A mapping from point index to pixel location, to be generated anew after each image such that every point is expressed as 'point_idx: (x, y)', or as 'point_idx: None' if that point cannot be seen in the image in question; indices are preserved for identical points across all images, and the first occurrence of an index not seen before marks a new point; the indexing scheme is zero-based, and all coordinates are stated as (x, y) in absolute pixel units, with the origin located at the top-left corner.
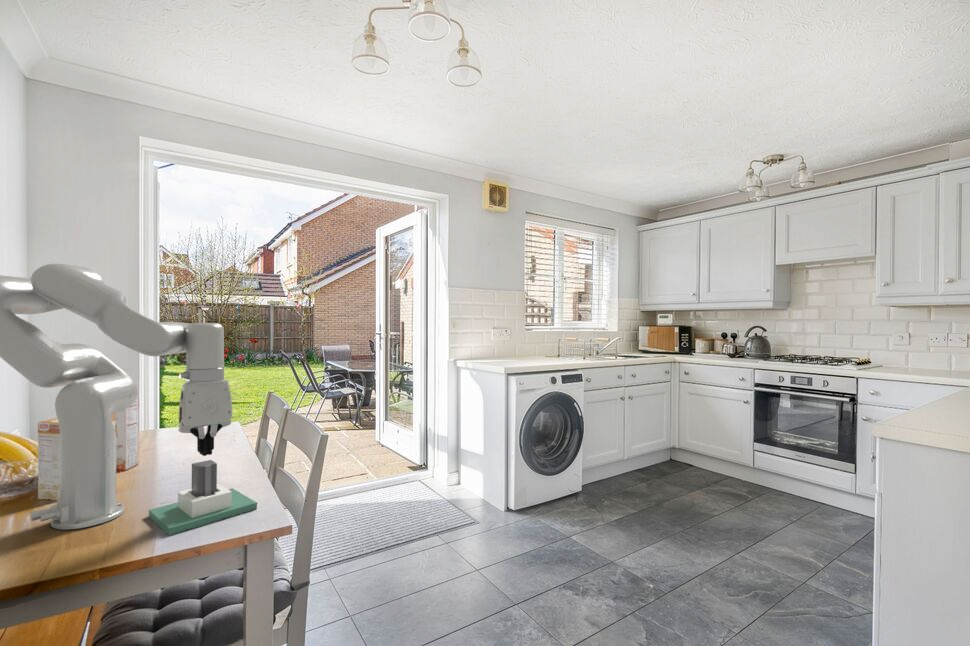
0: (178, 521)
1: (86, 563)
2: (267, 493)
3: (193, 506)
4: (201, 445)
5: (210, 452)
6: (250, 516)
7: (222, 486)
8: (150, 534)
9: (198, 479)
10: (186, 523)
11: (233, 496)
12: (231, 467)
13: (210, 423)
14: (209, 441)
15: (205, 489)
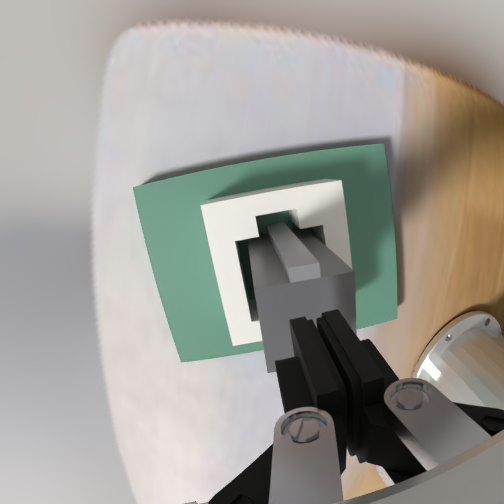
0: (359, 177)
1: (488, 127)
2: (96, 296)
3: (332, 180)
4: (374, 361)
5: (301, 322)
6: (167, 137)
7: (220, 289)
8: (406, 185)
9: (330, 254)
10: (343, 147)
11: (186, 290)
12: (174, 492)
13: (436, 486)
14: (329, 372)
15: (294, 236)
